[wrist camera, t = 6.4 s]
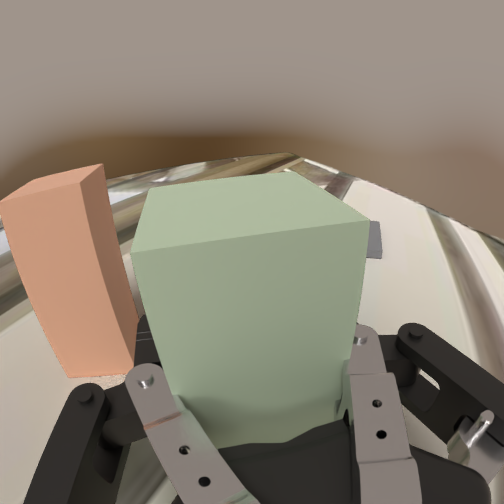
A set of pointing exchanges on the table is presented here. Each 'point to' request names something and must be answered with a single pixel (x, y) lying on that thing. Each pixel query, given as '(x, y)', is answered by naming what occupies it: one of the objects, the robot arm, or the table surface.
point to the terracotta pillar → (74, 270)
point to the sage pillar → (252, 300)
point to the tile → (374, 241)
